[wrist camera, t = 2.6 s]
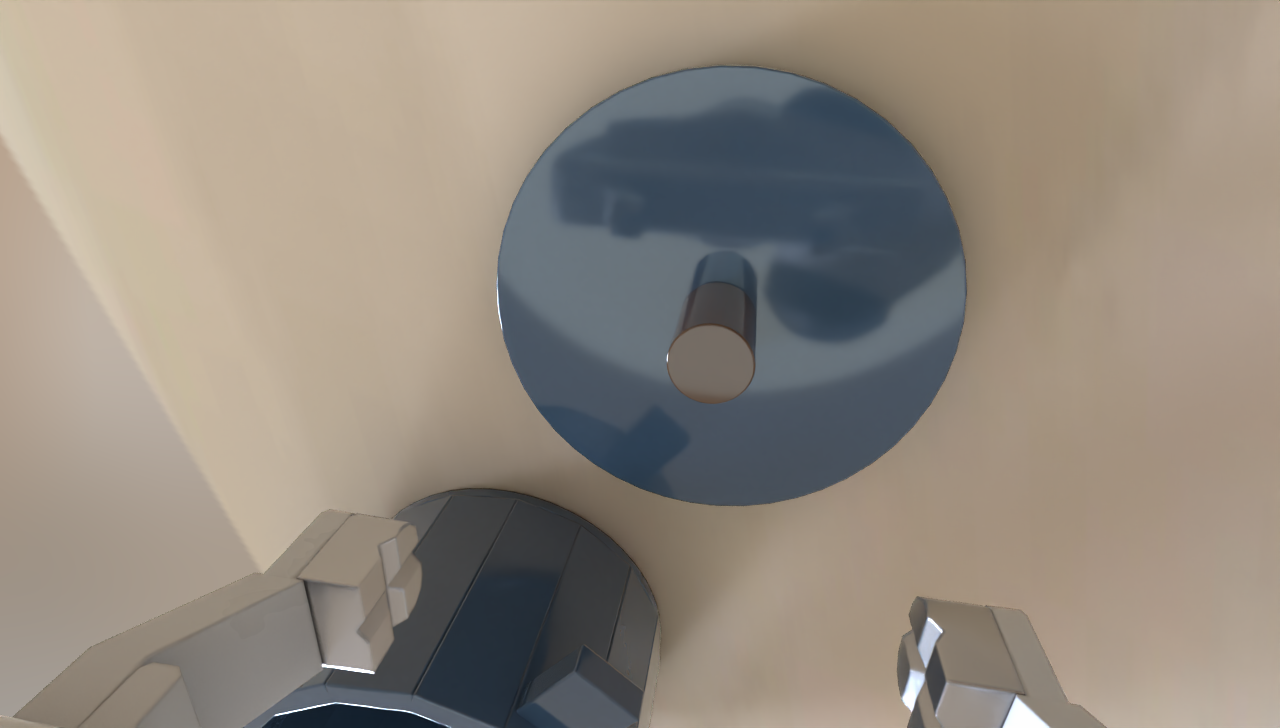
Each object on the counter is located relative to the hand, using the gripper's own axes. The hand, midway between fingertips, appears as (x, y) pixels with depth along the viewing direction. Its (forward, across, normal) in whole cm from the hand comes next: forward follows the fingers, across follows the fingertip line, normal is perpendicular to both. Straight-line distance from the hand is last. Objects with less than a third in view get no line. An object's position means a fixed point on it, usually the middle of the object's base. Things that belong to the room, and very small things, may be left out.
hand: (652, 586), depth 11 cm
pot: (+13, +7, +15) cm, 21 cm away
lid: (+12, 0, 0) cm, 12 cm away
